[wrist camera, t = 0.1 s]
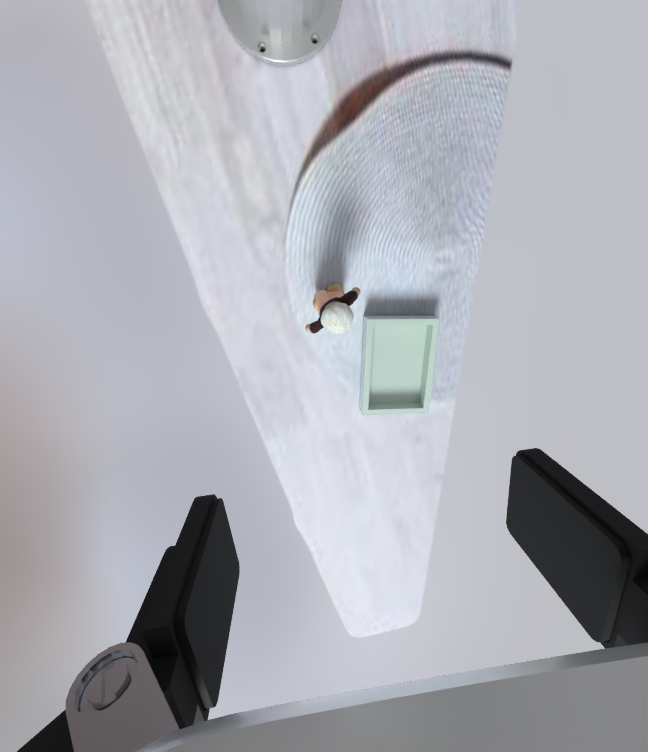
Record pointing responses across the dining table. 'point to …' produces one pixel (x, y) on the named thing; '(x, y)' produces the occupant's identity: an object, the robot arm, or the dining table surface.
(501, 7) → the dining table surface
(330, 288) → the grandmother figurine
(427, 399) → the tray
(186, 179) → the dining table surface
